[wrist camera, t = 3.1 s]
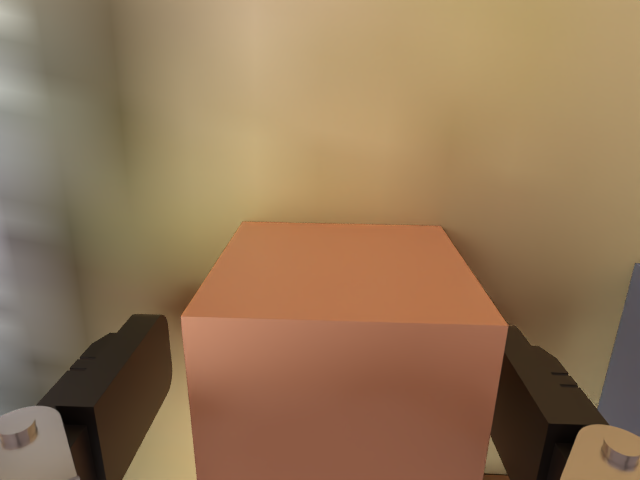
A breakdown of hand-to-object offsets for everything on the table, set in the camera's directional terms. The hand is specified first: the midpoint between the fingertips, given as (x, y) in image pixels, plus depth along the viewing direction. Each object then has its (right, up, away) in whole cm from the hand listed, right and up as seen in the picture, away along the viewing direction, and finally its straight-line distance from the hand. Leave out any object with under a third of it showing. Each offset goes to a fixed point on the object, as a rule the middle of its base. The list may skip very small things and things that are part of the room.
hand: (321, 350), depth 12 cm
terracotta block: (+1, +1, +2) cm, 2 cm away
